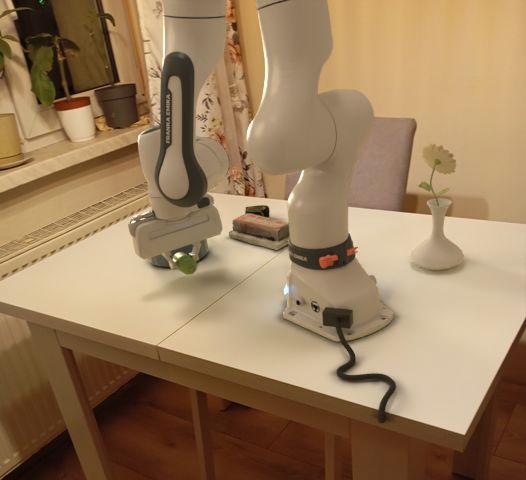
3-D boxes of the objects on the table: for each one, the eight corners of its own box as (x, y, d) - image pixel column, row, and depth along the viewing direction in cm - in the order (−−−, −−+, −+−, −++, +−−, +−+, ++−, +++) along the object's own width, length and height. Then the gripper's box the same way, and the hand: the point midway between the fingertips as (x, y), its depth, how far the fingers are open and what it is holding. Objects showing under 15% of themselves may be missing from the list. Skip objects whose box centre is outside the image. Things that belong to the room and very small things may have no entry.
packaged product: (225, 220, 149) (251, 208, 154) (227, 238, 151) (253, 225, 157) (275, 233, 137) (302, 219, 143) (277, 251, 140) (303, 237, 146)
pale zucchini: (203, 275, 127) (200, 259, 125) (187, 280, 125) (184, 264, 123) (186, 263, 133) (183, 248, 131) (171, 268, 132) (168, 253, 130)
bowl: (218, 256, 142) (214, 233, 139) (162, 274, 136) (157, 251, 133) (193, 239, 153) (189, 217, 150) (140, 255, 148) (135, 234, 144)
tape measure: (270, 215, 162) (269, 202, 160) (269, 224, 156) (268, 210, 154) (246, 217, 163) (244, 205, 161) (244, 226, 157) (243, 213, 155)
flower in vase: (474, 267, 121) (485, 146, 108) (425, 279, 119) (431, 158, 106) (441, 246, 132) (447, 134, 118) (396, 256, 130) (397, 144, 116)
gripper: (131, 221, 115) (147, 283, 122) (219, 195, 123) (230, 254, 130) (121, 215, 120) (137, 274, 127) (207, 189, 128) (217, 247, 135)
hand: (184, 264), depth 129 cm, fingers closed on pale zucchini, 4 cm apart
